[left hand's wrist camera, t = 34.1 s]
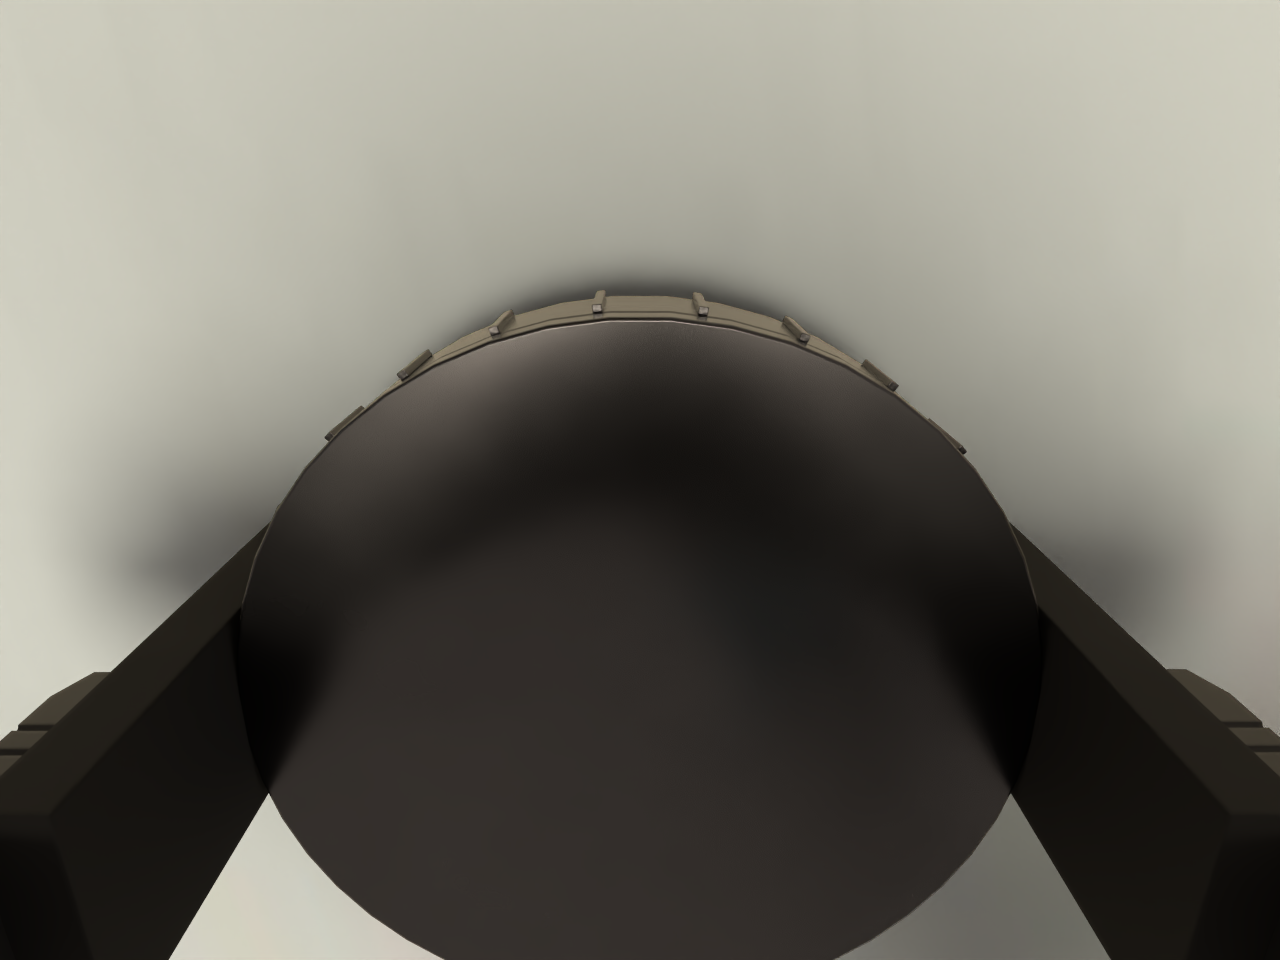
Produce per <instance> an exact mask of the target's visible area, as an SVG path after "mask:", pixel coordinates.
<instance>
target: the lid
mask: <svg viewBox="0 0 1280 960" xmlns="http://www.w3.org/2000/svg"><path fill="white" fill-rule="evenodd" d="M397 375H398V377H399V378H400V379H399V380H398V381H397V382H396V383H394V384H393V385H392V386H391V387H389V388H388V389H387V390H386V391H385V392H383V393H382V394H381V395H380V396H379V397H377V398H376V399H375V400H374V401H373V402H372V403H370V404H369V405H368V406H367V407H366V408H363V407H362V406H360V407H359V408H358V409H356V410H355V411H354V412H353V413H352V414H350V415H349V416H348V417H347V418H346V419H344V420H343V421H342V422H341V423H340V424H338V425H337V426H336V427H335V428H333V429H332V430H331V431H330V432H329V433H328V434H327V435H326V436H325V439H327V440H328V441H329V442H328V443H327V444H326V445H325V446H324V448H323V449H322V450H321V451H320V452H319V453H318V454H317V455H316V456H315V457H314V458H313V460H312V461H311V462H310V463H309V464H308V465H307V466H306V467H305V468H304V470H303V471H302V473H301V474H300V476H299V477H298V479H297V480H296V482H295V483H294V485H293V486H292V488H291V489H290V491H289V492H288V494H287V495H286V497H285V498H284V500H283V501H282V503H281V504H280V505H279V506H278V507H277V509H276V511H275V514H274V516H273V518H272V521H271V523H270V525H269V527H268V529H267V532H266V534H265V536H264V538H263V540H262V542H261V545H260V547H259V549H258V551H257V553H256V555H255V558H254V562H253V565H252V569H251V573H250V576H249V580H248V583H247V587H246V590H245V594H244V598H243V601H242V608H241V617H240V626H239V634H238V643H237V666H238V690H239V696H240V701H241V706H242V711H243V716H244V721H245V726H246V731H247V736H248V741H249V745H250V748H251V750H252V753H253V756H254V759H255V762H256V764H257V767H258V770H259V773H260V776H261V778H262V781H263V783H264V785H265V787H266V788H267V790H268V792H269V794H270V796H271V798H272V800H273V802H274V804H275V806H276V808H277V809H278V811H279V813H280V815H281V817H282V819H283V820H284V822H285V823H286V825H287V826H288V827H289V829H290V830H291V832H292V833H293V834H294V836H295V837H296V839H297V840H298V842H299V843H300V844H301V846H302V847H303V849H304V850H305V851H306V853H307V854H308V855H309V856H310V858H311V859H312V860H313V861H314V862H315V863H316V864H317V865H318V866H319V867H320V868H321V870H322V871H323V872H324V873H325V874H326V875H327V876H328V877H329V878H330V879H331V880H332V882H333V883H334V884H335V885H336V886H337V887H338V888H339V889H341V890H342V891H343V892H344V893H345V894H346V895H348V896H349V897H350V898H351V899H352V900H353V901H355V902H356V903H357V904H358V905H359V906H360V907H362V908H363V909H364V910H365V911H366V912H367V913H368V914H370V915H371V916H372V917H374V918H375V919H377V920H378V921H380V922H381V923H383V924H384V925H386V926H387V927H389V928H390V929H392V930H393V931H395V932H396V933H397V934H399V935H400V936H402V937H403V938H405V939H406V940H408V941H410V942H412V943H414V944H416V945H417V946H419V947H421V948H423V949H425V950H427V951H429V952H431V953H433V954H434V955H436V956H438V957H440V958H442V959H444V960H835V959H837V958H839V957H841V956H843V955H845V954H847V953H849V952H851V951H852V950H854V949H856V948H858V947H860V946H862V945H864V944H866V943H867V942H869V941H871V940H873V939H874V938H876V937H877V936H879V935H880V934H882V933H883V932H885V931H886V930H888V929H889V928H891V927H892V926H894V925H895V924H897V923H898V922H900V921H901V920H902V919H904V918H905V917H907V916H908V915H910V914H911V913H912V912H913V911H914V910H915V909H917V908H918V907H919V906H920V905H921V904H922V903H924V902H925V901H926V900H927V899H928V898H929V897H931V896H932V895H933V894H934V893H935V892H936V891H938V890H939V889H940V888H941V887H942V886H943V885H944V884H945V883H946V882H947V881H948V880H949V879H950V878H951V876H952V875H953V874H954V873H955V872H956V871H957V870H958V869H959V868H960V867H961V866H962V864H963V863H964V862H965V861H966V860H967V859H968V858H969V857H970V856H971V855H972V853H973V852H974V850H975V849H976V848H977V846H978V845H979V843H980V842H981V841H982V839H983V838H984V836H985V835H986V834H987V832H988V831H989V829H990V828H991V827H992V825H993V824H994V822H995V821H996V819H997V818H998V816H999V814H1000V812H1001V810H1002V808H1003V806H1004V804H1005V803H1006V801H1007V799H1008V797H1009V795H1010V793H1011V791H1012V789H1013V787H1014V785H1015V784H1016V782H1017V779H1018V777H1019V774H1020V771H1021V768H1022V765H1023V763H1024V760H1025V757H1026V754H1027V752H1028V749H1029V746H1030V742H1031V738H1032V733H1033V728H1034V723H1035V718H1036V713H1037V708H1038V703H1039V698H1040V692H1041V677H1042V654H1043V648H1042V639H1041V630H1040V622H1039V613H1038V604H1037V600H1036V596H1035V592H1034V589H1033V585H1032V582H1031V578H1030V574H1029V571H1028V567H1027V564H1026V560H1025V557H1024V554H1023V552H1022V550H1021V548H1020V546H1019V544H1018V541H1017V539H1016V537H1015V535H1014V533H1013V530H1012V528H1011V525H1010V523H1009V521H1008V519H1007V517H1006V515H1005V513H1004V511H1003V510H1002V508H1001V507H1000V505H999V504H998V502H997V501H996V499H995V498H994V496H993V495H992V493H991V491H990V490H989V488H988V487H987V485H986V484H985V482H984V481H983V479H982V478H981V476H980V475H979V473H978V472H977V470H976V469H975V468H974V467H973V466H972V465H971V463H970V462H969V461H968V460H967V459H966V458H965V457H964V456H963V454H965V453H966V450H965V449H964V447H963V446H962V445H961V444H959V443H958V442H957V441H956V440H955V439H954V438H952V437H951V436H950V435H949V434H948V433H946V432H945V431H944V430H943V429H942V428H940V427H939V426H938V425H937V424H936V423H935V422H933V421H932V420H931V419H930V418H929V419H927V418H926V417H924V416H923V415H922V414H921V413H920V412H918V411H917V410H916V409H915V408H914V407H913V406H911V405H910V404H909V403H908V402H907V401H906V400H904V399H903V398H902V397H901V396H900V395H898V394H897V393H896V392H895V390H896V389H897V387H898V386H899V385H898V384H896V383H895V382H894V381H893V380H891V379H890V378H889V377H888V376H887V375H885V374H884V373H883V372H882V371H880V370H879V369H878V368H877V367H876V366H874V365H873V364H872V363H870V362H869V361H868V360H865V361H864V362H863V363H862V364H861V363H859V362H857V361H856V360H854V359H853V358H851V357H849V356H848V355H846V354H844V353H843V352H841V351H839V350H838V349H836V348H834V347H833V346H831V345H829V344H828V343H826V342H824V341H823V340H821V339H819V338H818V337H816V336H813V335H811V334H809V333H807V332H806V331H805V330H804V329H803V328H802V327H801V326H800V325H799V324H798V323H797V322H796V321H794V320H793V319H792V318H790V317H787V316H785V317H784V320H783V322H781V321H778V320H776V319H774V318H771V317H768V316H765V315H761V314H757V313H754V312H750V311H746V310H743V309H739V308H736V307H732V306H728V305H725V304H721V303H715V302H708V301H705V299H704V297H703V295H702V294H701V293H696V292H693V296H692V299H686V298H678V297H671V296H609V297H606V291H605V290H601V291H597V292H596V295H595V298H594V299H587V300H579V301H571V302H564V303H559V304H555V305H551V306H548V307H544V308H540V309H537V310H533V311H529V312H526V313H522V314H518V315H515V316H514V314H513V311H512V310H509V311H506V312H504V313H503V314H502V315H501V316H500V317H499V318H498V319H497V320H496V321H495V322H494V323H493V324H492V325H490V326H487V327H485V328H483V329H480V330H478V331H476V332H473V333H471V334H468V335H466V336H464V337H462V338H460V339H459V340H457V341H455V342H454V343H452V344H450V345H449V346H447V347H445V348H444V349H442V350H440V351H439V352H437V353H435V354H434V355H432V354H431V352H430V351H429V350H426V351H425V352H423V353H422V354H421V355H419V356H418V357H417V358H416V359H415V360H413V361H412V362H411V363H410V364H408V365H407V366H406V367H405V368H404V369H402V370H401V371H400V372H399V373H397Z"/></svg>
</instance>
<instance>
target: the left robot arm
mask: <svg viewBox="0 0 1280 960" xmlns="http://www.w3.org/2000/svg"><path fill="white" fill-rule="evenodd" d="M270 523H271V522H270ZM270 523H269V524H268V525H267V526H265V527H264V528H263V529H262V530H261V531H260V532H259V533H258V534H257V535H256V536H255V537H254V538H253V539H252V540H251V541H250V542H248V543H247V544H246V545H245V546H244V547H243V548H242V549H241V550H240V551H239V552H238V553H237V554H236V555H235V556H234V557H233V558H231V559H230V560H229V561H228V562H227V563H226V564H225V565H224V566H223V567H222V568H221V569H220V570H219V571H218V572H217V573H216V574H214V575H213V576H212V577H211V578H210V579H209V580H208V581H207V582H206V583H205V584H204V585H203V586H202V587H201V588H200V589H199V590H197V591H196V592H195V593H194V594H193V595H192V596H191V597H190V598H189V599H188V600H187V601H186V602H185V603H184V604H183V605H182V606H180V607H179V608H178V609H177V610H176V611H175V612H174V613H173V614H172V615H171V616H170V617H169V618H168V619H167V620H166V621H165V622H163V623H162V624H161V625H160V626H159V627H158V628H157V629H156V630H155V631H154V632H153V633H152V634H151V635H150V636H149V637H148V638H146V639H145V640H144V641H143V642H142V643H141V644H140V645H139V646H138V647H137V648H136V649H135V650H134V651H133V652H132V653H131V654H129V655H128V656H127V657H126V658H125V659H124V660H123V661H122V662H121V663H120V664H119V665H118V666H117V667H116V668H115V669H113V670H112V671H111V672H94V673H92V674H90V675H88V676H87V677H85V678H83V679H81V680H79V681H78V682H76V683H74V684H72V685H70V686H69V687H67V688H65V689H63V690H61V691H60V692H58V693H56V694H54V695H52V696H51V697H49V698H48V699H47V700H46V701H45V702H44V703H43V704H42V705H40V706H39V707H38V708H37V709H36V710H35V711H34V712H33V713H31V714H30V715H29V716H28V717H27V718H26V719H25V720H23V721H22V722H21V723H20V724H19V725H18V730H17V731H11V732H10V733H9V734H8V735H7V736H5V737H4V738H3V739H2V740H1V741H0V960H169V958H170V957H171V955H172V953H173V952H174V950H175V948H176V947H177V945H178V943H179V942H180V940H181V938H182V937H183V935H184V933H185V932H186V930H187V928H188V927H189V925H190V923H191V922H192V920H193V918H194V917H195V915H196V913H197V912H198V910H199V908H200V907H201V905H202V903H203V902H204V900H205V898H206V897H207V895H208V893H209V892H210V890H211V888H212V887H213V885H214V883H215V882H216V880H217V878H218V877H219V875H220V873H221V872H222V870H223V868H224V867H225V865H226V863H227V862H228V860H229V858H230V857H231V855H232V853H233V852H234V850H235V848H236V847H237V845H238V843H239V842H240V840H241V838H242V837H243V835H244V833H245V832H246V830H247V828H248V827H249V825H250V823H251V822H252V820H253V818H254V817H255V815H256V813H257V812H258V810H259V808H260V807H261V805H262V803H263V802H264V800H265V798H266V797H267V795H268V793H269V792H268V790H267V788H266V787H265V785H264V783H263V781H262V778H261V776H260V773H259V770H258V767H257V764H256V762H255V759H254V756H253V753H252V750H251V748H250V745H249V741H248V736H247V731H246V726H245V721H244V716H243V711H242V706H241V701H240V696H239V690H238V666H237V643H238V634H239V626H240V617H241V608H242V601H243V598H244V594H245V590H246V587H247V583H248V580H249V576H250V573H251V569H252V565H253V562H254V558H255V555H256V553H257V551H258V549H259V547H260V545H261V542H262V540H263V538H264V536H265V534H266V532H267V529H268V527H269V525H270ZM1009 523H1010V522H1009ZM1010 525H1011V528H1012V530H1013V533H1014V535H1015V537H1016V539H1017V541H1018V544H1019V546H1020V548H1021V550H1022V552H1023V554H1024V557H1025V560H1026V564H1027V567H1028V571H1029V574H1030V578H1031V582H1032V585H1033V589H1034V592H1035V596H1036V600H1037V604H1038V613H1039V622H1040V630H1041V639H1042V648H1043V654H1042V677H1041V692H1040V698H1039V703H1038V708H1037V713H1036V718H1035V723H1034V728H1033V733H1032V738H1031V742H1030V746H1029V749H1028V752H1027V754H1026V757H1025V760H1024V763H1023V765H1022V768H1021V771H1020V774H1019V777H1018V779H1017V782H1016V784H1015V785H1014V787H1013V789H1012V791H1011V794H1012V795H1013V797H1014V799H1015V800H1016V802H1017V804H1018V805H1019V807H1020V809H1021V810H1022V812H1023V814H1024V815H1025V817H1026V819H1027V820H1028V822H1029V824H1030V825H1031V827H1032V829H1033V830H1034V832H1035V834H1036V835H1037V837H1038V839H1039V840H1040V842H1041V844H1042V845H1043V847H1044V849H1045V850H1046V852H1047V854H1048V855H1049V857H1050V859H1051V861H1052V862H1053V864H1054V866H1055V867H1056V869H1057V871H1058V872H1059V874H1060V876H1061V877H1062V879H1063V881H1064V882H1065V884H1066V886H1067V887H1068V889H1069V891H1070V892H1071V894H1072V896H1073V897H1074V899H1075V901H1076V902H1077V904H1078V906H1079V907H1080V909H1081V911H1082V912H1083V914H1084V916H1085V917H1086V919H1087V921H1088V922H1089V924H1090V926H1091V927H1092V929H1093V931H1094V932H1095V934H1096V936H1097V937H1098V939H1099V941H1100V942H1101V944H1102V946H1103V947H1104V949H1105V951H1106V952H1107V954H1108V956H1109V957H1110V959H1111V960H1280V737H1279V736H1278V735H1276V734H1275V733H1274V732H1273V731H1272V730H1271V729H1270V728H1263V726H1262V721H1260V720H1259V719H1258V718H1257V717H1256V716H1255V715H1254V714H1253V713H1251V712H1250V711H1249V710H1248V709H1247V708H1246V707H1245V706H1243V705H1242V704H1241V703H1240V702H1239V701H1238V700H1237V699H1235V698H1234V697H1233V696H1232V695H1231V694H1230V693H1228V692H1226V691H1224V690H1223V689H1221V688H1219V687H1217V686H1215V685H1213V684H1212V683H1210V682H1208V681H1206V680H1204V679H1203V678H1201V677H1199V676H1197V675H1195V674H1193V673H1192V672H1190V671H1188V670H1186V669H1165V668H1164V667H1163V666H1162V665H1161V664H1160V663H1159V662H1158V661H1157V660H1155V659H1154V658H1153V657H1152V656H1151V655H1150V654H1149V653H1148V652H1147V651H1146V650H1145V649H1144V648H1143V647H1142V646H1141V645H1140V644H1138V643H1137V642H1136V641H1135V640H1134V639H1133V638H1132V637H1131V636H1130V635H1129V634H1128V633H1127V632H1126V631H1125V630H1124V629H1123V628H1121V627H1120V626H1119V625H1118V624H1117V623H1116V622H1115V621H1114V620H1113V619H1112V618H1111V617H1110V616H1109V615H1108V614H1107V613H1106V612H1104V611H1103V610H1102V609H1101V608H1100V607H1099V606H1098V605H1097V604H1096V603H1095V602H1094V601H1093V600H1092V599H1091V598H1090V597H1089V596H1087V595H1086V594H1085V593H1084V592H1083V591H1082V590H1081V589H1080V588H1079V587H1078V586H1077V585H1076V584H1075V583H1074V582H1073V581H1072V580H1070V579H1069V578H1068V577H1067V576H1066V575H1065V574H1064V573H1063V572H1062V571H1061V570H1060V569H1059V568H1058V567H1057V566H1056V565H1055V564H1054V563H1052V562H1051V561H1050V560H1049V559H1048V558H1047V557H1046V556H1045V555H1044V554H1043V553H1042V552H1041V551H1040V550H1039V549H1038V548H1037V547H1035V546H1034V545H1033V544H1032V543H1031V542H1030V541H1029V540H1028V539H1027V538H1026V537H1025V536H1024V535H1023V534H1022V533H1021V532H1020V531H1018V530H1017V529H1016V528H1015V527H1014V526H1013V525H1012V524H1011V523H1010Z"/></svg>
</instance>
